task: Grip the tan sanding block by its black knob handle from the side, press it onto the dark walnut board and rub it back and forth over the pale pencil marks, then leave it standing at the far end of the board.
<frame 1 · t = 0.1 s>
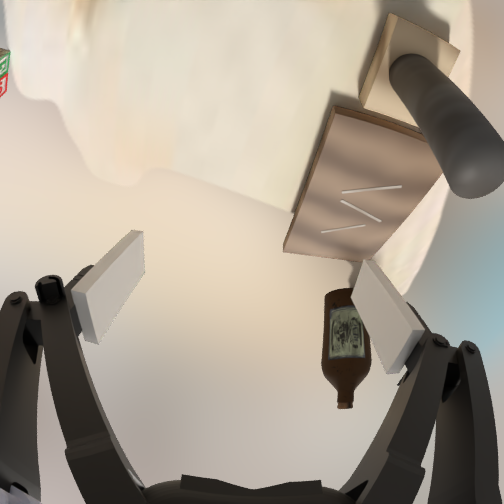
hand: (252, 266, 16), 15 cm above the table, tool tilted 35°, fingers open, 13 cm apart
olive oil: (345, 294, 58), on the table
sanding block: (404, 68, 16), on the table
walnut board: (356, 201, 32), on the table
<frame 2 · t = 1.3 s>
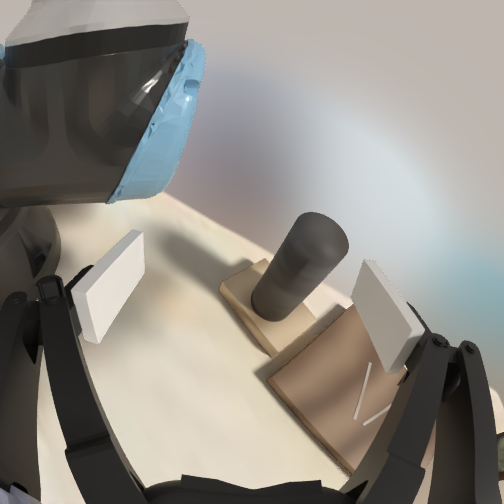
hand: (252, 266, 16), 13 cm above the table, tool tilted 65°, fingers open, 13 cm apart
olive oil: (483, 460, 21), on the table
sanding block: (265, 309, 29), on the table
walnut board: (374, 414, 25), on the table
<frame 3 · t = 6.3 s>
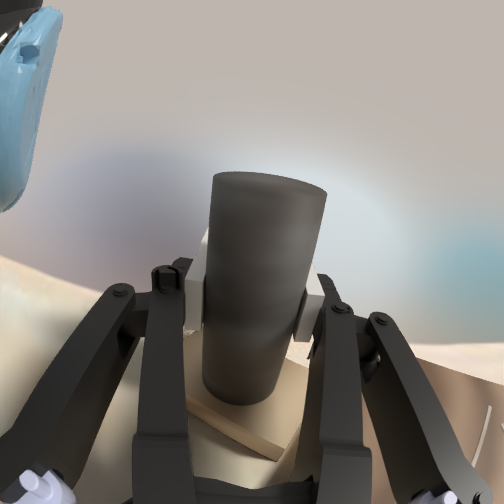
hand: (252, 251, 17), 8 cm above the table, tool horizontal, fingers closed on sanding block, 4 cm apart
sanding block: (236, 394, 16), on the table, touching gripper
walnut board: (469, 451, 10), on the table
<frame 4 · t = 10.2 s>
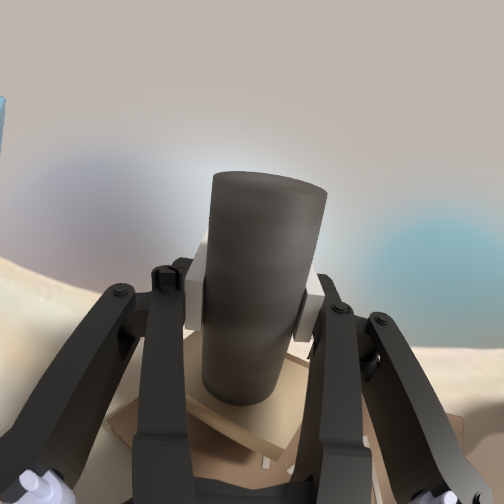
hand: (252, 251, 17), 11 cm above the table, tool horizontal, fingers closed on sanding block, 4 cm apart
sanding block: (236, 394, 16), point 3 cm above the table, touching gripper
walnut board: (315, 455, 14), on the table
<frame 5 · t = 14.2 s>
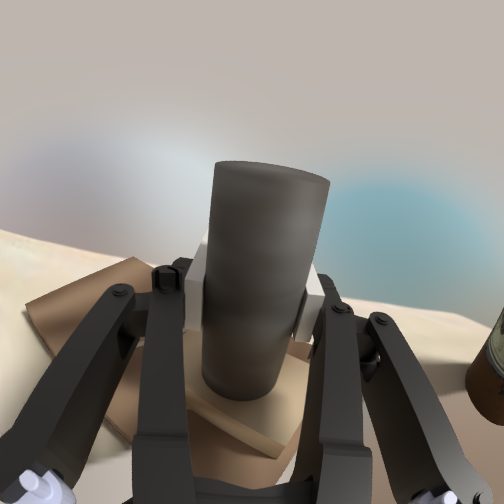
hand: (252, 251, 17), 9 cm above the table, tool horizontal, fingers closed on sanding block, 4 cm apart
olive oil: (493, 393, 16), on the table
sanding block: (236, 390, 16), point 2 cm above the table, touching gripper
walnut board: (160, 354, 19), on the table
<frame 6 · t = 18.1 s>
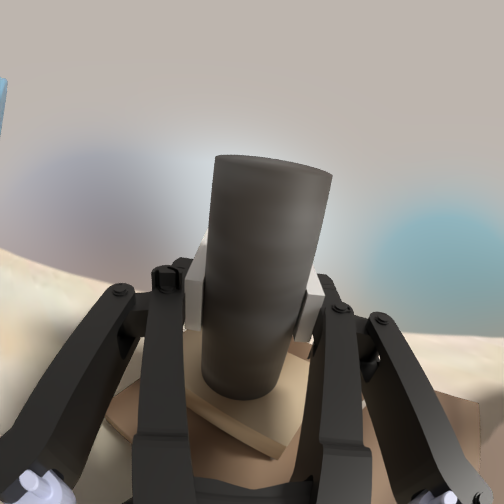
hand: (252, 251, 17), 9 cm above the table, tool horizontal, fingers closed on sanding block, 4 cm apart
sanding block: (236, 389, 15), point 2 cm above the table, touching gripper
walnut board: (327, 445, 13), on the table
when the fingers open (10 cm above the table, at t = 22.1 s): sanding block drops 2 cm, resting on walnut board.
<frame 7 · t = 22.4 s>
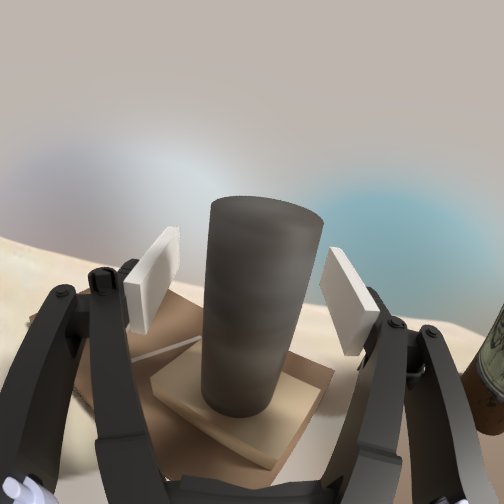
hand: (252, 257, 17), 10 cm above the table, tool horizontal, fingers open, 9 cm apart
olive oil: (483, 403, 16), on the table
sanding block: (234, 405, 16), point 2 cm above the table, touching walnut board
walnut board: (160, 366, 20), on the table
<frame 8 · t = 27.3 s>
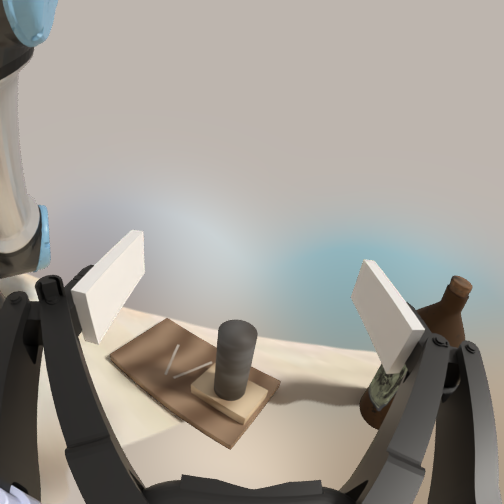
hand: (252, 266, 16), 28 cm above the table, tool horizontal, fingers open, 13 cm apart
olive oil: (382, 410, 36), on the table
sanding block: (228, 396, 35), point 2 cm above the table, touching walnut board
walnut board: (191, 377, 39), on the table
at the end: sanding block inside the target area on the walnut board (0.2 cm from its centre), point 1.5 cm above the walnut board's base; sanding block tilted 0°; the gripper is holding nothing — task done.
